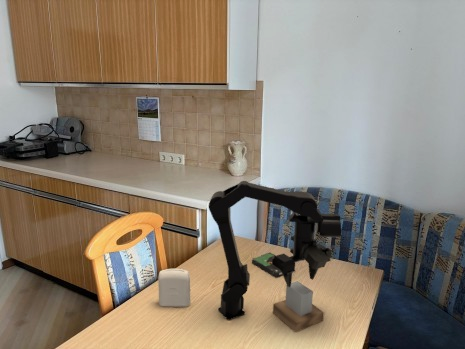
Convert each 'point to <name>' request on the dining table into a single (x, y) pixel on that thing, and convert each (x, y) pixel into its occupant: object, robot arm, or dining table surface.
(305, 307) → the block
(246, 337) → the dining table surface
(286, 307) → the stand
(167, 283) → the photo printer
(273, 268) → the disk drive
